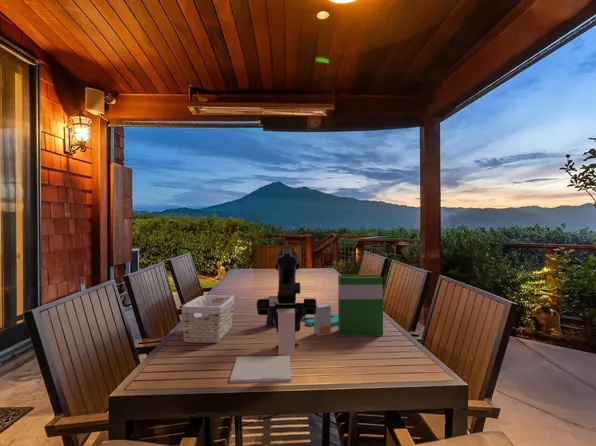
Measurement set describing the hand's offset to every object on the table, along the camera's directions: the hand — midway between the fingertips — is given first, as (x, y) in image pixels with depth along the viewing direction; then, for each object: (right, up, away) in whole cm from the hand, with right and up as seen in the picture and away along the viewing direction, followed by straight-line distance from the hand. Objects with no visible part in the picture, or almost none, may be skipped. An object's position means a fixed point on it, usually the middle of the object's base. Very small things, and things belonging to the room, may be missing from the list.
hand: (286, 331), depth 107 cm
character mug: (-8, -14, +54) cm, 57 cm away
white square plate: (-8, -14, +6) cm, 17 cm away
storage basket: (-33, -14, +42) cm, 55 cm away
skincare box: (+14, -14, +42) cm, 46 cm away
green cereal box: (+30, -14, +44) cm, 55 cm away
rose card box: (0, -7, +1) cm, 7 cm away
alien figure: (+15, -15, +62) cm, 66 cm away
